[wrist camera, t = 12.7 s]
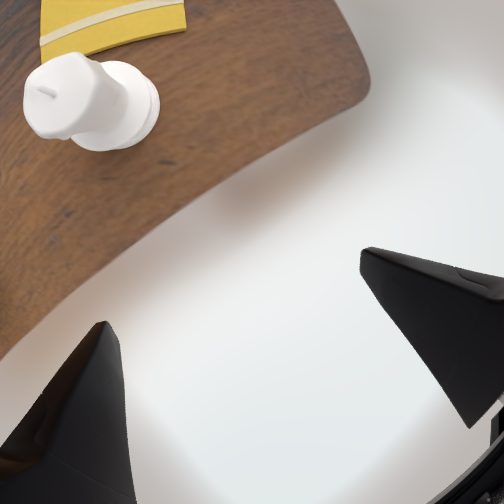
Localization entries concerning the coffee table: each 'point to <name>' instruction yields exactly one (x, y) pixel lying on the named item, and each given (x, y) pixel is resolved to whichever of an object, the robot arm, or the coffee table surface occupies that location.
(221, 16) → the coffee table surface
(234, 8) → the coffee table surface
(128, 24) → the towel
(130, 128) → the candle
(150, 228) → the coffee table surface
